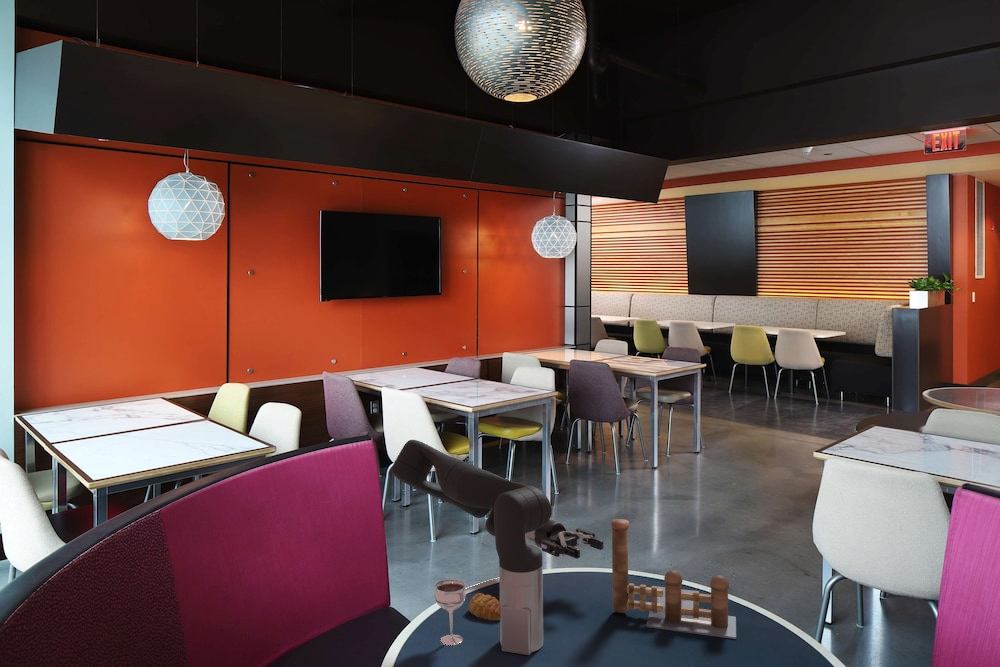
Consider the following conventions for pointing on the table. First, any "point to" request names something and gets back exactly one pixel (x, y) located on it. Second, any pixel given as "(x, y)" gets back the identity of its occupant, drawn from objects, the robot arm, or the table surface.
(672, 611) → the fixed fence
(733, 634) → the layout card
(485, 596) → the pastry
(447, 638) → the wineglass
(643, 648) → the table surface
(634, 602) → the wooden fence section
